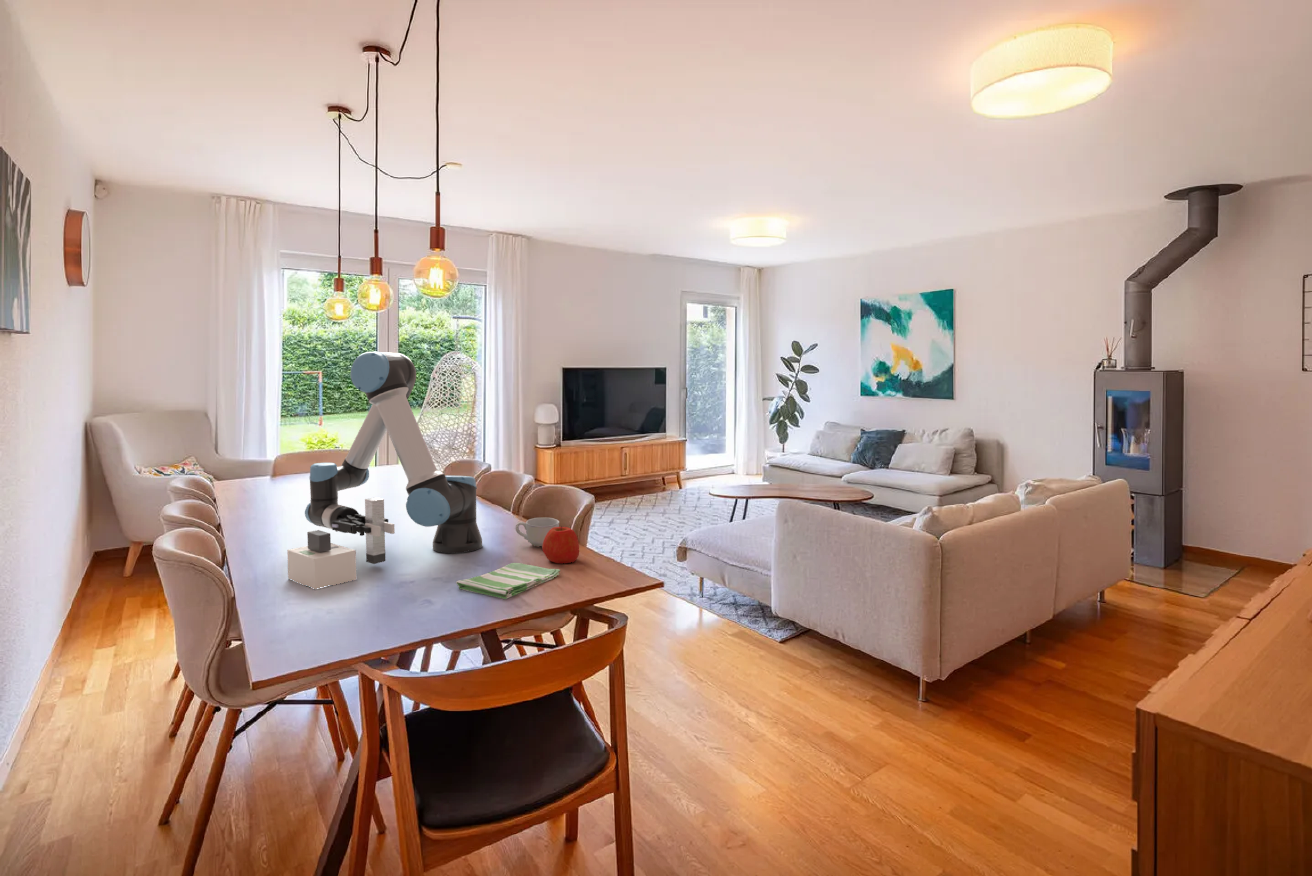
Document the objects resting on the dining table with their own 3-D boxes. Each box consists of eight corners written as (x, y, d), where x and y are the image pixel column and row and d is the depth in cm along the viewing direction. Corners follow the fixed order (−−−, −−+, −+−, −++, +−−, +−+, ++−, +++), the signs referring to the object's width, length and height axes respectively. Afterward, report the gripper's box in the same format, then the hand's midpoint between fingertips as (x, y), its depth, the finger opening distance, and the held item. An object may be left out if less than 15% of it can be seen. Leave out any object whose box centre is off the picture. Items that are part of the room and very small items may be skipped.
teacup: (562, 541, 224) (562, 518, 224) (554, 550, 214) (554, 525, 213) (521, 540, 226) (521, 516, 225) (511, 548, 215) (511, 523, 214)
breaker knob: (319, 546, 182) (318, 530, 181) (330, 550, 178) (330, 533, 178) (307, 548, 179) (307, 532, 179) (319, 552, 176) (319, 535, 175)
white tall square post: (378, 559, 195) (376, 497, 193) (385, 561, 193) (384, 499, 191) (366, 561, 192) (364, 499, 190) (373, 564, 190) (371, 500, 188)
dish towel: (562, 577, 187) (562, 567, 187) (507, 602, 166) (507, 591, 166) (511, 568, 195) (511, 558, 195) (452, 590, 174) (452, 580, 174)
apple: (535, 563, 199) (535, 527, 198) (557, 554, 208) (557, 520, 207) (565, 568, 194) (565, 532, 193) (586, 559, 203) (586, 524, 202)
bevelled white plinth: (328, 570, 188) (328, 541, 188) (356, 579, 180) (355, 550, 179) (288, 579, 179) (287, 549, 179) (315, 589, 171) (314, 558, 170)
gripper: (367, 526, 209) (412, 538, 195) (314, 536, 195) (358, 549, 182) (367, 502, 208) (412, 512, 194) (313, 510, 195) (357, 522, 181)
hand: (386, 530), depth 188 cm, fingers closed on white tall square post, 3 cm apart
